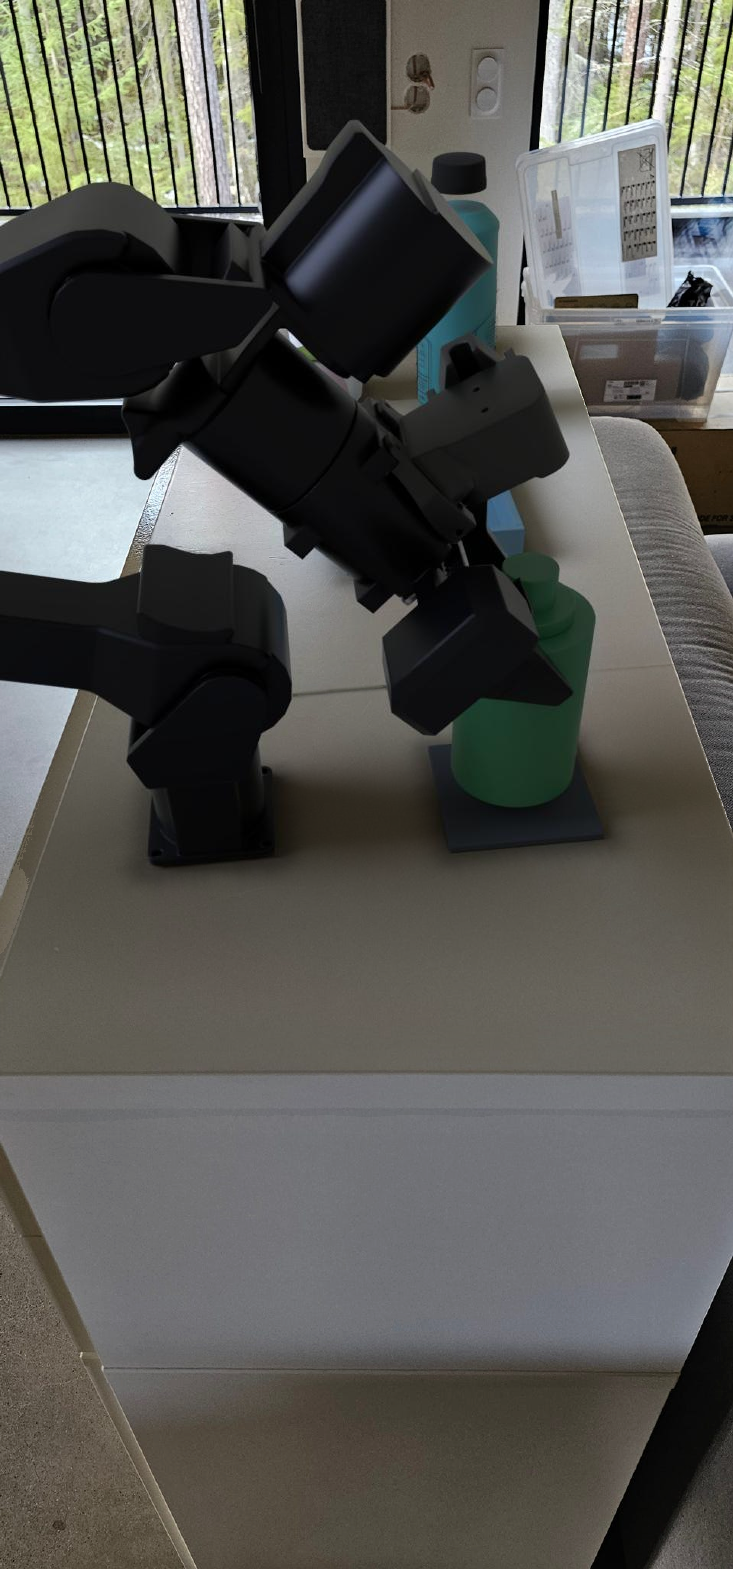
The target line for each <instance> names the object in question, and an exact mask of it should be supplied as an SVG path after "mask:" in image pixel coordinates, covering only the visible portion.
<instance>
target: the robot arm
mask: <svg viewBox="0 0 733 1569" xmlns="http://www.w3.org/2000/svg"><path fill="white" fill-rule="evenodd" d="M447 201H448V200H446V198H445V197H444V196H443V194H441V193H439V192H438V191H437V189H436V188H435V187H434V186H433V185H432V184H431V181H429V179H428V178H427V177H426V176H425V175H424V174H423V173H422V171H421V170H419V169H418V168H415V169H414V170H413V171H412V169H410V168H409V167H408V166H407V165H406V163H404V161H402V160H401V159H400V158H399V157H398V155H396V154H395V153H394V152H393V151H392V150H391V149H389V148H388V147H387V145H385V144H383V143H382V142H380V141H379V140H378V139H377V138H376V137H375V136H374V135H373V134H372V133H371V132H370V131H369V130H368V129H367V128H366V127H365V126H364V124H363V123H362V122H361V121H360V120H359V119H350V120H349V121H348V122H347V123H346V124H345V126H343V128H342V129H341V130H340V131H339V133H338V134H337V135H336V137H335V138H334V139H333V140H332V142H331V143H330V144H329V146H328V147H327V149H326V150H325V153H324V154H323V157H322V159H321V161H320V163H319V165H318V167H317V168H316V170H315V171H314V173H313V175H312V176H311V177H309V179H308V180H307V182H306V183H305V184H304V185H303V186H302V188H301V189H300V190H299V192H298V193H296V195H295V197H294V198H293V199H292V200H291V201H290V203H289V204H288V205H286V207H285V208H284V210H283V211H282V212H281V214H280V215H279V216H278V217H277V219H276V220H275V221H274V222H273V223H272V224H271V226H270V227H269V228H268V229H267V228H266V227H265V226H264V224H263V223H261V222H260V221H252V220H242V219H233V218H222V217H212V216H205V215H194V214H193V215H192V214H184V213H183V214H182V213H174V212H167V211H166V210H165V208H164V207H163V206H162V205H161V204H160V203H158V202H156V201H155V200H153V199H152V198H150V197H149V196H147V195H146V194H144V193H143V192H141V191H139V190H137V189H136V188H135V187H134V186H132V185H131V184H125V183H121V182H116V181H99V182H97V181H96V182H90V183H87V184H85V185H82V186H79V187H76V188H74V189H72V190H70V191H68V192H65V193H64V194H62V195H60V196H57V197H55V198H53V199H51V200H49V201H47V202H45V203H43V204H41V205H38V206H36V207H34V208H32V209H30V210H28V211H26V212H24V213H22V214H20V215H18V216H15V217H13V218H12V219H9V220H8V221H6V222H4V223H3V224H1V225H0V397H4V398H9V399H15V400H19V401H24V402H31V403H36V404H53V403H71V402H72V403H73V402H85V401H103V400H121V399H122V404H121V412H120V416H121V419H122V420H123V422H124V425H125V427H126V429H127V432H128V434H129V435H128V436H129V439H130V443H131V445H130V446H131V450H132V461H133V462H132V463H133V468H132V470H133V474H134V476H135V477H136V478H137V479H138V480H141V481H148V480H151V479H153V477H154V475H156V474H157V472H158V471H159V470H160V469H161V467H162V466H163V465H164V464H165V463H166V462H167V461H168V459H169V458H170V457H171V456H172V455H173V453H175V451H176V450H177V449H178V448H179V447H180V446H183V447H184V448H185V449H186V450H187V451H189V452H190V453H192V454H193V456H195V457H196V458H198V459H199V460H200V461H202V462H203V463H204V464H205V465H207V466H208V467H210V468H211V469H212V470H213V471H214V472H216V473H217V474H219V475H220V476H221V478H223V479H225V480H226V481H227V482H229V483H230V484H231V485H233V486H234V487H235V488H236V489H238V490H239V491H241V492H242V493H243V494H244V495H245V496H246V497H247V498H249V499H250V500H252V502H255V503H256V504H257V505H258V506H259V507H261V508H262V509H264V510H265V511H266V512H267V513H268V514H270V515H271V516H273V517H274V518H275V519H276V520H278V521H279V522H280V523H282V535H283V546H284V547H285V548H286V549H288V550H289V551H290V552H292V553H293V554H294V555H296V556H297V557H298V558H299V559H301V560H302V561H303V560H304V559H305V558H306V557H307V556H308V555H309V554H310V553H311V552H312V551H313V550H314V549H315V551H317V552H319V553H320V554H321V555H322V556H324V557H325V558H327V559H328V560H329V561H330V562H332V563H333V564H334V565H335V566H337V567H338V568H339V569H341V570H342V571H343V572H344V573H345V574H346V573H347V574H348V575H347V576H350V577H351V578H352V581H353V587H354V594H355V599H356V602H357V603H358V604H360V605H361V606H362V607H364V609H366V610H367V611H369V612H370V613H371V614H375V613H376V612H377V611H379V609H380V608H382V607H383V606H384V605H385V604H386V603H387V602H388V601H389V600H390V599H391V598H392V597H393V596H394V595H395V596H396V597H398V598H399V599H400V601H401V602H402V603H403V604H404V605H405V606H406V607H408V606H411V605H412V604H413V603H414V602H417V605H415V606H414V607H413V608H412V609H411V610H410V611H409V612H408V613H407V614H406V615H405V616H403V618H401V619H400V620H399V621H398V622H396V624H395V625H393V627H391V628H390V629H389V630H388V631H387V632H386V633H385V634H384V635H383V636H382V637H381V654H382V655H381V656H382V659H381V660H382V661H381V662H382V668H383V673H384V678H385V685H386V690H387V697H388V701H389V708H390V712H391V714H392V715H394V716H395V717H396V718H398V719H400V720H401V721H402V722H404V723H405V724H406V725H408V726H409V727H410V728H412V729H413V730H415V731H416V732H418V733H419V734H421V735H422V736H428V737H436V736H437V735H438V734H440V733H441V732H442V731H443V730H444V729H446V728H447V727H448V726H449V725H450V724H451V723H453V721H454V720H455V719H456V718H457V717H459V716H460V715H461V714H462V713H463V712H465V711H466V710H467V709H468V708H470V707H471V706H472V705H473V704H474V703H476V702H477V701H478V700H479V699H480V698H484V699H494V700H496V699H497V700H504V701H513V702H521V703H530V704H538V705H547V706H559V705H561V704H562V703H563V702H565V701H566V700H567V699H568V698H570V697H571V696H572V695H573V693H574V691H573V688H572V686H571V685H570V684H569V682H568V681H567V680H566V678H565V677H564V676H563V674H562V673H561V672H560V670H559V669H558V668H557V667H556V665H555V664H554V663H553V662H552V661H551V659H550V658H549V657H548V656H547V654H546V653H545V652H544V651H543V650H542V648H541V647H540V646H539V645H538V641H539V639H540V637H539V634H538V632H537V629H536V626H535V623H534V621H533V611H532V608H531V605H530V602H529V599H528V597H527V594H526V591H525V589H524V586H523V583H522V581H521V578H520V577H518V578H517V579H516V580H515V581H514V582H513V583H512V582H511V580H510V579H509V578H508V577H506V576H505V575H504V574H503V573H502V572H501V570H502V564H503V562H504V560H505V559H506V558H508V556H507V554H506V553H505V551H504V550H503V548H502V547H501V545H500V544H499V542H498V540H497V539H496V537H495V536H494V534H493V533H492V531H491V530H490V528H489V527H488V525H487V505H488V500H489V499H491V498H493V497H495V496H497V495H499V494H501V493H504V492H506V491H508V490H512V489H514V488H516V487H518V486H520V485H523V484H524V483H527V482H529V481H530V480H533V479H535V478H539V479H544V478H547V477H549V476H551V475H553V474H555V473H556V472H558V471H560V469H562V468H563V467H564V466H565V465H566V463H567V462H568V461H569V459H570V455H571V453H570V451H569V448H568V445H567V443H566V440H565V437H564V435H563V432H562V430H561V427H560V425H559V422H558V419H557V416H556V414H555V412H554V409H553V407H552V404H551V402H550V399H549V396H548V394H547V390H546V388H545V386H544V383H543V382H542V380H541V378H540V377H539V374H538V372H537V371H536V369H535V367H534V365H533V363H532V362H531V359H530V358H529V356H527V355H523V354H518V355H516V353H515V350H514V348H512V347H510V348H508V349H506V350H504V351H503V355H504V357H505V358H504V359H502V357H501V355H500V354H499V353H498V352H497V351H496V350H495V351H494V350H493V349H492V348H490V347H489V346H488V345H486V344H485V343H484V342H483V341H481V340H480V339H479V338H477V337H476V336H475V335H473V334H472V333H466V334H464V335H462V336H461V337H459V338H457V339H455V340H453V341H451V342H449V343H447V344H445V345H443V346H442V347H441V349H440V364H439V381H438V383H439V389H440V392H439V393H438V394H436V392H435V389H434V388H432V389H430V390H428V391H427V392H426V396H427V399H428V401H427V402H426V403H425V404H423V405H421V406H420V405H419V406H417V407H416V408H414V409H413V410H411V411H409V412H408V413H406V414H404V415H403V414H401V413H400V412H399V411H398V410H397V409H395V408H394V407H393V406H392V405H391V404H389V402H387V401H386V400H385V399H384V398H382V397H380V398H379V399H378V400H375V399H373V398H372V396H370V395H368V396H367V397H366V398H365V399H364V400H363V402H362V403H360V402H359V401H358V400H357V401H356V400H355V399H354V398H353V397H352V396H351V395H349V394H348V393H347V392H346V391H345V390H344V389H343V388H342V387H340V386H339V385H338V384H337V383H336V382H335V381H334V380H333V379H332V378H330V377H329V376H328V375H327V374H326V373H325V372H324V371H323V370H321V369H320V368H319V367H318V366H317V365H316V364H315V363H314V362H313V361H311V360H310V359H309V358H308V357H307V356H306V355H305V354H304V353H303V352H301V351H300V350H299V349H298V348H297V347H296V346H295V345H294V344H292V343H291V342H290V339H288V338H287V337H286V336H285V335H284V334H283V333H282V332H280V331H279V330H280V329H281V328H282V327H283V328H284V329H285V330H286V331H287V332H288V331H289V332H290V333H291V334H292V335H293V336H294V337H295V338H296V339H297V340H298V341H299V342H300V343H301V344H302V345H303V346H304V347H305V348H306V350H307V351H308V352H309V353H310V354H311V355H312V356H314V357H315V358H316V359H317V360H318V361H319V362H320V363H321V364H322V365H324V366H325V367H326V368H327V369H329V370H330V371H331V372H333V373H334V374H336V375H338V376H340V377H342V378H344V379H348V378H350V377H351V376H353V377H354V378H355V379H357V380H358V381H360V382H362V385H366V384H367V383H368V382H369V381H370V380H371V379H372V378H373V377H374V376H376V377H379V378H383V379H384V378H385V379H386V378H388V377H389V376H390V375H391V374H392V373H393V372H394V371H395V370H396V369H397V368H398V366H399V365H400V364H401V363H402V362H403V361H404V360H405V359H407V357H408V356H409V355H410V353H412V352H413V350H415V349H416V347H417V345H418V344H419V343H420V342H421V341H422V340H423V339H424V338H425V337H426V335H427V334H428V333H429V332H430V331H431V330H432V329H433V328H434V327H435V326H436V325H437V324H438V323H439V322H440V321H441V320H442V319H443V317H444V316H445V315H446V314H447V313H448V312H449V311H450V310H451V309H452V308H453V307H454V306H455V305H456V304H457V303H458V302H459V301H460V300H461V298H462V297H463V296H464V295H465V294H466V293H467V292H468V291H469V290H470V289H471V288H472V287H473V286H474V285H475V284H476V283H477V282H478V280H479V279H480V278H481V277H482V276H483V275H484V274H485V273H486V272H487V271H488V270H489V269H490V268H491V267H492V266H493V265H494V263H493V260H492V258H491V256H490V255H489V253H488V252H487V250H486V249H485V248H484V246H483V245H482V244H481V242H480V241H479V240H478V238H477V237H476V236H475V234H474V233H473V232H472V231H471V229H470V228H469V227H468V226H467V224H466V223H465V222H464V221H463V220H462V218H461V217H460V216H459V215H458V214H457V212H456V211H455V210H454V209H453V208H452V207H451V205H450V204H449V203H448V202H447ZM289 332H288V333H289ZM287 613H288V612H287V608H286V606H285V603H284V600H283V597H282V595H281V594H280V592H278V590H277V589H276V587H275V586H273V584H272V582H270V581H269V580H268V577H267V576H266V575H265V574H263V573H261V572H260V571H258V570H256V569H254V568H252V567H248V566H245V565H242V564H237V563H235V564H234V553H233V552H232V551H231V550H225V551H220V552H216V553H215V552H214V553H197V552H192V551H187V550H183V549H179V548H176V547H173V546H171V545H166V544H162V543H161V544H158V543H157V544H156V543H148V544H147V543H146V544H145V545H144V546H143V548H142V556H141V566H140V571H138V572H135V573H131V574H128V575H125V576H121V577H119V578H114V579H112V580H111V579H110V580H108V581H101V582H100V581H98V582H96V581H95V582H94V581H93V582H91V581H83V580H75V579H69V578H62V577H61V578H60V577H53V576H45V575H38V574H32V573H24V572H16V571H9V570H0V682H9V683H18V684H26V685H35V686H44V687H53V688H61V689H68V690H69V689H70V690H78V691H83V692H87V693H91V694H93V695H96V696H97V697H99V698H100V699H102V700H104V701H106V702H107V703H109V704H110V705H111V706H113V707H114V708H116V709H118V710H119V711H121V712H123V713H124V714H125V715H127V716H129V717H130V721H129V731H128V741H127V750H126V751H127V752H126V759H125V761H126V763H127V765H128V766H129V767H130V769H131V770H132V771H133V773H134V774H135V775H136V777H137V778H138V779H139V781H140V782H141V783H142V785H143V786H144V787H145V788H146V789H147V790H150V792H151V798H150V799H151V800H150V815H149V828H148V843H147V859H148V862H149V864H150V865H152V866H154V867H162V866H171V865H172V866H173V865H174V866H175V865H184V864H195V863H196V864H197V863H207V862H208V863H209V862H217V861H227V860H228V861H230V860H240V859H251V858H261V857H270V856H272V855H274V854H275V853H276V851H277V831H276V813H275V811H276V810H275V792H274V791H275V790H274V773H273V769H272V768H271V767H270V766H267V765H262V760H261V753H260V745H259V742H260V740H261V737H262V734H264V733H265V732H267V731H269V730H271V729H272V728H274V727H276V725H277V724H278V723H279V722H280V720H282V719H283V717H285V715H286V714H287V712H288V710H289V707H290V705H291V703H292V700H293V680H292V679H293V677H292V666H291V665H292V664H291V663H292V662H291V652H290V651H291V650H290V640H289V637H290V636H289V628H288V627H289V625H288V614H287Z"/></svg>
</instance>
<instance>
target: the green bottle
mask: <svg viewBox="0 0 733 1569" xmlns="http://www.w3.org/2000/svg"><path fill="white" fill-rule="evenodd" d="M560 571H561V568H560V565H559V563H558V561H556V560H555V559H554V558H553V557H552V556H549V555H546V554H544V553H540V552H534V551H523V553H517V554H514V555H511V556H509V557H508V558H506V559H505V560H504V562H503V564H502V570H501V572H502V573H503V574H504V575H505V576H506V577H508V578H509V579H510V580H511V582H512V583H513V582H514V581H515V580H516V579H517V578H518V577H520V578H521V581H522V583H523V586H524V589H525V591H526V594H527V597H528V599H529V602H530V605H531V608H532V611H533V621H534V623H535V626H536V629H537V632H538V634H539V637H540V639H539V641H538V645H539V646H540V647H541V648H542V650H543V651H544V652H545V653H546V654H547V656H548V657H549V658H550V659H551V661H552V662H553V663H554V664H555V665H556V667H557V668H558V669H559V670H560V672H561V673H562V674H563V676H564V677H565V678H566V680H567V681H568V682H569V684H570V685H571V686H572V688H573V691H574V693H573V695H572V696H571V697H570V698H568V699H567V700H566V701H565V702H563V703H562V704H561V705H559V706H547V705H538V704H530V703H521V702H513V701H504V700H497V699H496V700H494V699H484V698H480V699H479V700H478V701H477V702H476V703H474V704H473V705H472V706H471V707H470V708H468V709H467V710H466V711H465V712H463V713H462V714H461V715H460V716H459V717H457V718H456V719H455V720H454V721H453V722H451V723H452V725H451V727H452V728H451V729H452V730H451V744H452V745H451V769H452V773H453V775H454V778H455V779H456V781H457V782H458V784H459V785H460V786H461V787H462V788H463V789H464V790H465V791H467V792H468V793H469V794H471V795H472V796H474V797H476V798H478V799H480V800H482V801H485V802H487V803H491V804H494V805H499V806H505V807H529V806H534V805H539V804H542V803H545V802H547V801H550V800H552V799H554V798H555V797H557V796H558V795H560V794H561V793H562V792H563V791H564V790H565V789H566V788H567V787H568V785H569V784H570V782H571V780H572V776H573V772H574V765H575V758H576V755H577V750H578V745H579V744H578V743H579V738H580V732H581V725H582V724H581V723H582V717H583V710H584V704H585V703H584V702H585V696H586V690H587V689H586V688H587V684H588V676H589V669H590V662H591V655H592V648H593V643H594V635H595V629H596V622H597V621H596V620H597V619H596V617H597V616H596V612H595V609H594V608H593V605H592V604H591V603H590V601H589V600H588V599H587V598H586V597H585V596H584V595H582V594H581V593H580V592H579V591H577V590H576V589H574V588H572V587H570V586H568V585H566V584H564V583H562V582H561V581H559V579H560Z"/></svg>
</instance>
